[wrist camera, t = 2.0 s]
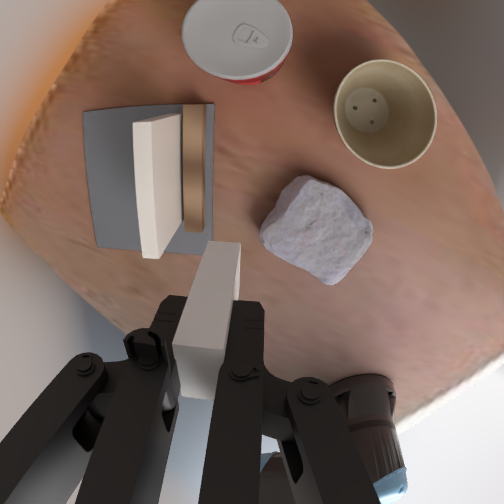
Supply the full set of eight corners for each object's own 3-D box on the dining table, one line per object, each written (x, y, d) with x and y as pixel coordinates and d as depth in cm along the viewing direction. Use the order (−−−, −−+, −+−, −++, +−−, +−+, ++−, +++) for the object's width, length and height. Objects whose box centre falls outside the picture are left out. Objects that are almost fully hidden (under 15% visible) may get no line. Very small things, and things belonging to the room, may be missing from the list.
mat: (212, 254, 39) (212, 256, 38) (98, 246, 39) (97, 247, 39) (214, 104, 30) (214, 104, 30) (84, 112, 30) (82, 112, 30)
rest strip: (205, 225, 36) (202, 232, 35) (188, 224, 36) (184, 231, 35) (206, 104, 30) (202, 104, 28) (188, 104, 30) (183, 104, 28)
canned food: (277, 91, 29) (282, 88, 19) (202, 79, 29) (171, 73, 19) (291, 25, 25) (302, -6, 16) (215, 14, 25) (191, -19, 15)
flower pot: (419, 94, 28) (452, 98, 21) (383, 168, 32) (408, 187, 26) (342, 49, 26) (361, 38, 20) (305, 128, 31) (315, 137, 25)
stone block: (296, 162, 35) (250, 234, 37) (307, 165, 30) (255, 248, 32) (371, 214, 38) (328, 279, 40) (389, 224, 33) (341, 295, 35)
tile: (185, 216, 36) (159, 259, 27) (170, 215, 36) (141, 257, 27) (184, 113, 30) (151, 121, 21) (168, 113, 30) (131, 122, 21)
